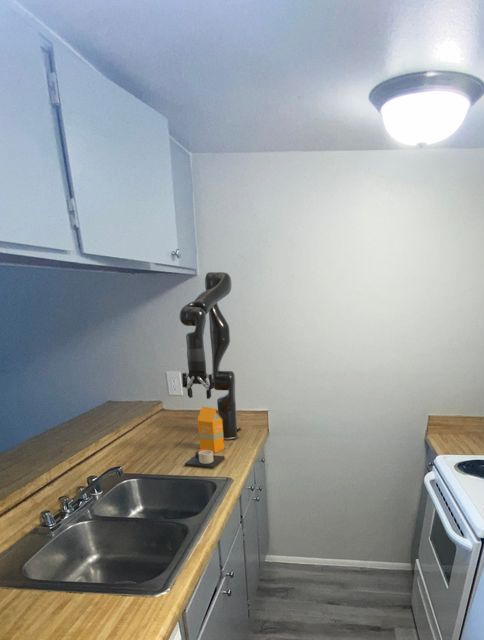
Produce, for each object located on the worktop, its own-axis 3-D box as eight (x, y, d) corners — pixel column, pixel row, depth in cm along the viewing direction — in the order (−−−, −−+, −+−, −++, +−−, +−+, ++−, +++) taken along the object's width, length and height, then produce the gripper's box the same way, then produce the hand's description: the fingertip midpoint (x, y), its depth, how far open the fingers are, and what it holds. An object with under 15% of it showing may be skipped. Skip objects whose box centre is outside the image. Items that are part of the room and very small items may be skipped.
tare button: (200, 452, 216) (200, 448, 215) (206, 452, 215) (206, 449, 215) (197, 454, 214) (197, 450, 213) (203, 454, 213) (203, 451, 212)
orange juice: (209, 445, 233) (206, 404, 224) (224, 448, 230) (221, 407, 220) (199, 450, 227) (196, 408, 218) (214, 452, 224) (211, 410, 214)
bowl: (202, 459, 211) (202, 449, 209) (215, 460, 209) (215, 450, 207) (197, 463, 205) (196, 453, 203) (210, 465, 204) (209, 455, 202)
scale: (199, 456, 219) (198, 450, 218) (225, 458, 216) (224, 452, 215) (185, 466, 207) (184, 459, 205) (212, 469, 204) (211, 462, 202)
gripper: (215, 358, 202) (217, 397, 210) (185, 357, 206) (188, 395, 213) (208, 361, 196) (211, 400, 204) (177, 359, 199) (181, 398, 207)
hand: (199, 398), depth 208 cm, fingers open, 8 cm apart
